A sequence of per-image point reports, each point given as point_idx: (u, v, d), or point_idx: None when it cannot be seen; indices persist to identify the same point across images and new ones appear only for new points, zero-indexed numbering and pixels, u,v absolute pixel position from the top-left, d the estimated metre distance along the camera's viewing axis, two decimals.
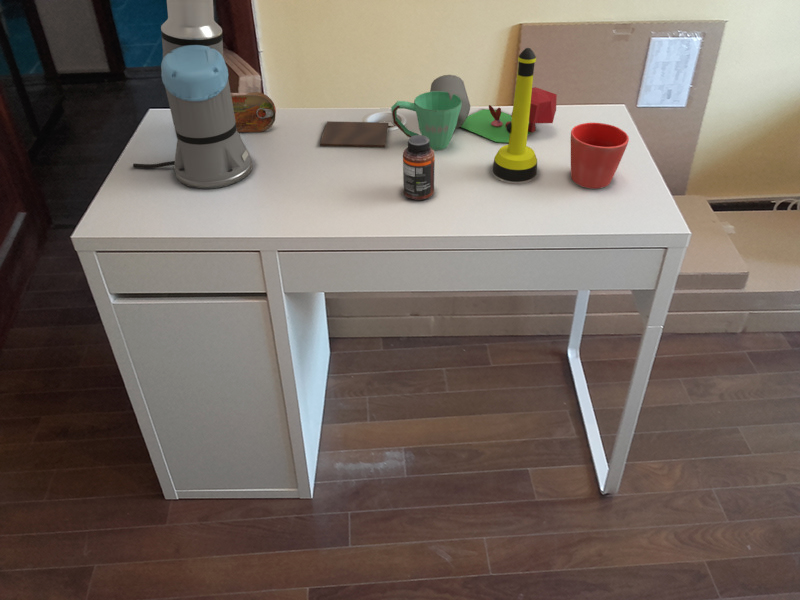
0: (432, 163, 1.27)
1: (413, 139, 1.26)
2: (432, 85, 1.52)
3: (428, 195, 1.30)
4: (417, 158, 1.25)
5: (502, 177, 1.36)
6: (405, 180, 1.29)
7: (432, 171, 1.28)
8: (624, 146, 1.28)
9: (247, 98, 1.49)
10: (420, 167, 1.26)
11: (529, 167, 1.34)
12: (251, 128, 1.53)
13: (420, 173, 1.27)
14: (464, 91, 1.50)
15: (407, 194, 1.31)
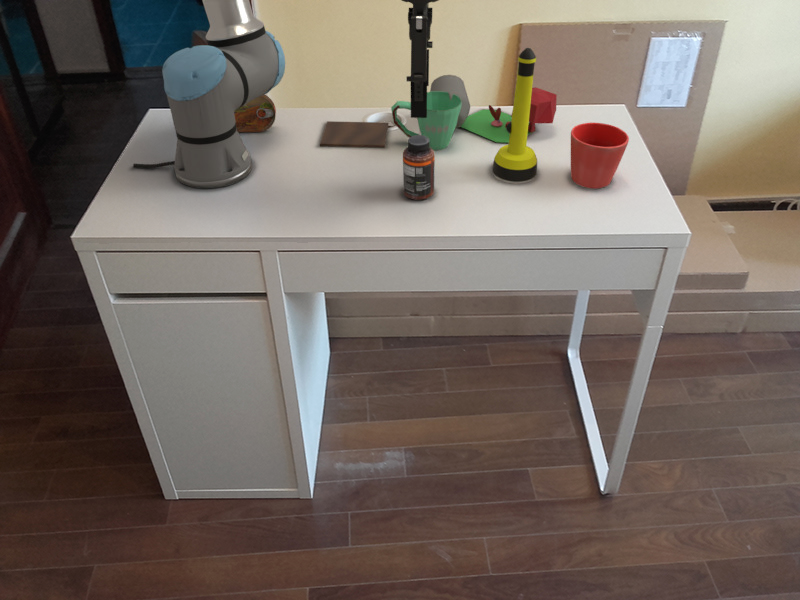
0: (432, 163, 1.27)
1: (413, 139, 1.26)
2: (432, 85, 1.52)
3: (428, 195, 1.30)
4: (417, 158, 1.25)
5: (502, 177, 1.36)
6: (405, 180, 1.29)
7: (432, 171, 1.28)
8: (624, 146, 1.28)
9: None
10: (420, 167, 1.26)
11: (529, 167, 1.34)
12: (251, 128, 1.53)
13: (420, 173, 1.27)
14: (464, 91, 1.50)
15: (407, 194, 1.31)
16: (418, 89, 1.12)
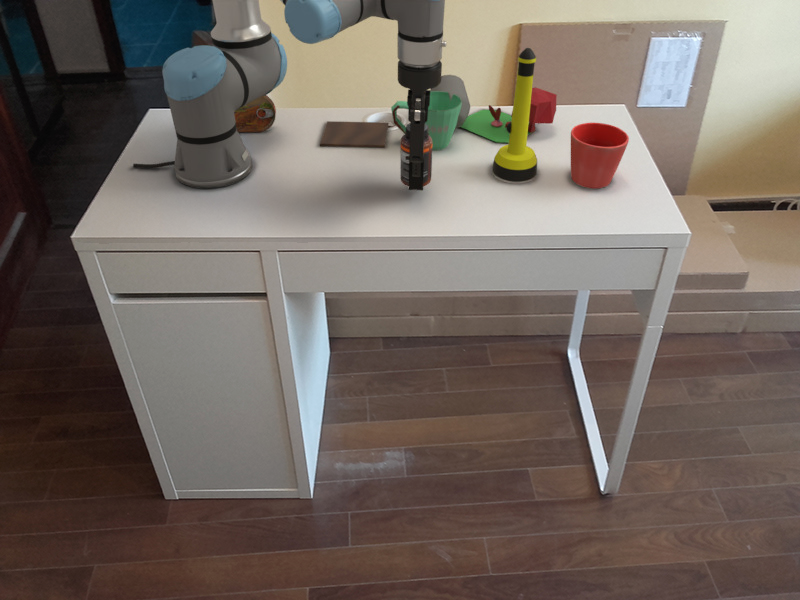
0: (430, 151, 1.26)
1: None
2: None
3: (425, 183, 1.29)
4: None
5: (502, 177, 1.36)
6: (402, 167, 1.28)
7: (430, 159, 1.27)
8: (624, 146, 1.28)
9: None
10: None
11: (529, 167, 1.34)
12: (251, 128, 1.53)
13: None
14: (464, 91, 1.50)
15: (404, 182, 1.29)
16: (416, 167, 1.24)
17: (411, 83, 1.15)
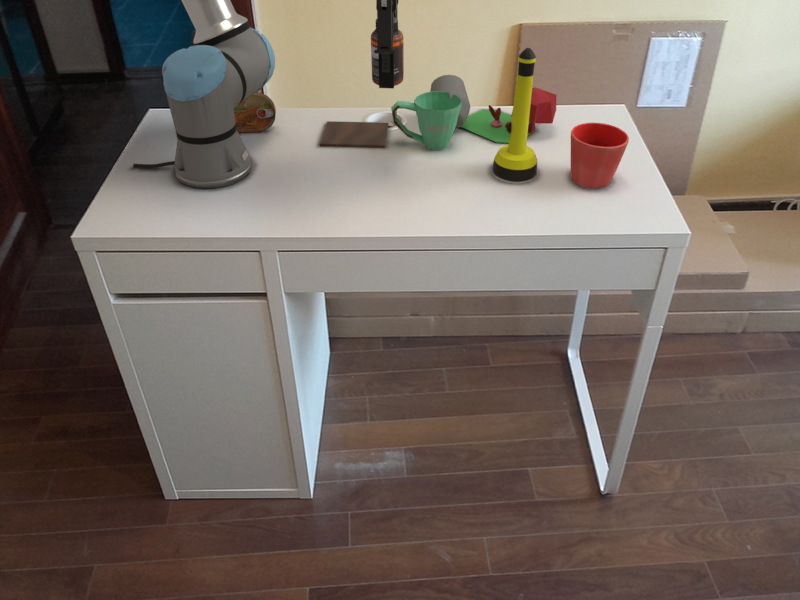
0: (400, 46, 1.23)
1: None
2: (432, 85, 1.52)
3: (397, 82, 1.26)
4: None
5: (502, 177, 1.36)
6: (373, 65, 1.25)
7: (401, 55, 1.24)
8: (624, 146, 1.28)
9: (247, 98, 1.49)
10: None
11: (529, 167, 1.34)
12: (251, 128, 1.53)
13: None
14: (464, 91, 1.50)
15: (375, 81, 1.27)
16: (385, 61, 1.21)
17: None
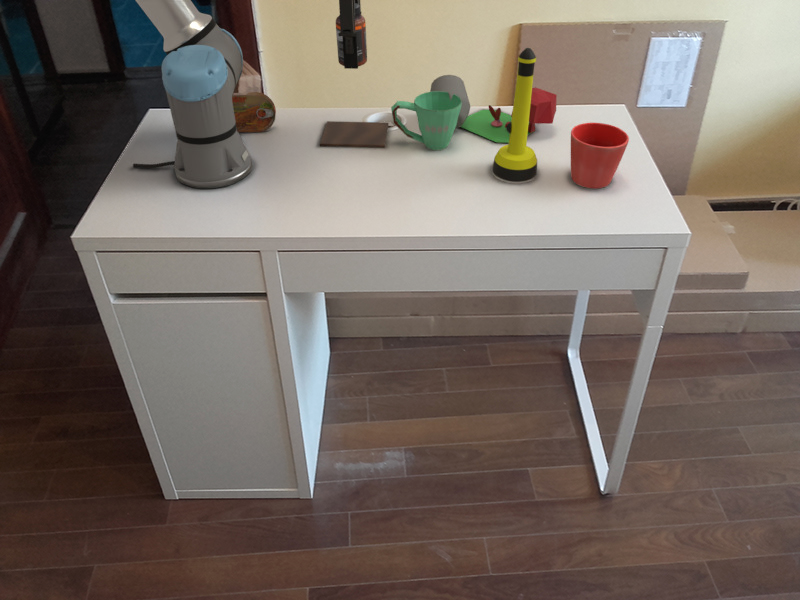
0: (363, 29, 1.35)
1: None
2: (432, 85, 1.52)
3: (360, 62, 1.38)
4: None
5: (502, 177, 1.36)
6: (338, 47, 1.37)
7: (363, 38, 1.36)
8: (624, 146, 1.28)
9: (247, 98, 1.49)
10: None
11: (529, 167, 1.34)
12: (251, 128, 1.53)
13: None
14: (464, 91, 1.50)
15: (341, 62, 1.39)
16: (348, 43, 1.33)
17: None
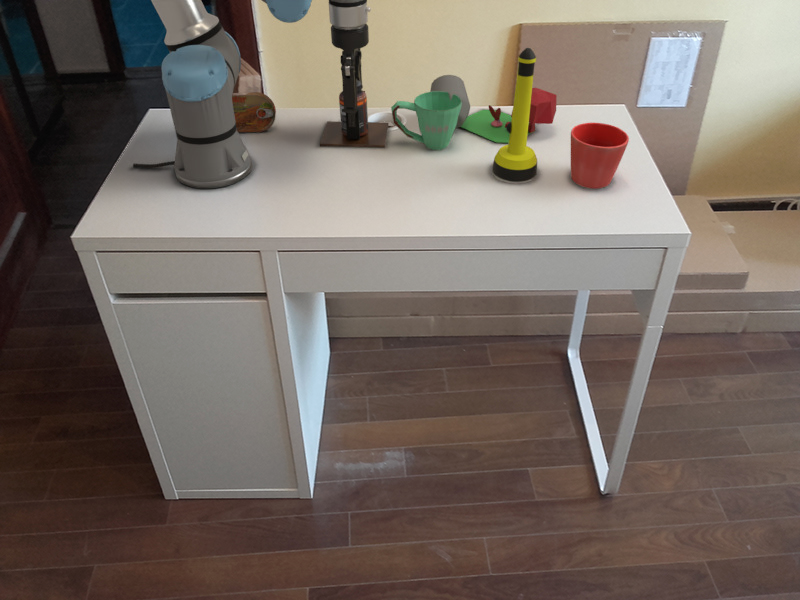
0: (364, 104, 1.46)
1: None
2: (432, 85, 1.52)
3: (362, 133, 1.49)
4: None
5: (502, 177, 1.36)
6: (341, 120, 1.48)
7: (365, 111, 1.47)
8: (624, 146, 1.28)
9: (247, 98, 1.49)
10: None
11: (529, 167, 1.34)
12: (251, 128, 1.53)
13: None
14: (464, 91, 1.50)
15: (344, 133, 1.50)
16: (351, 118, 1.44)
17: (341, 43, 1.36)
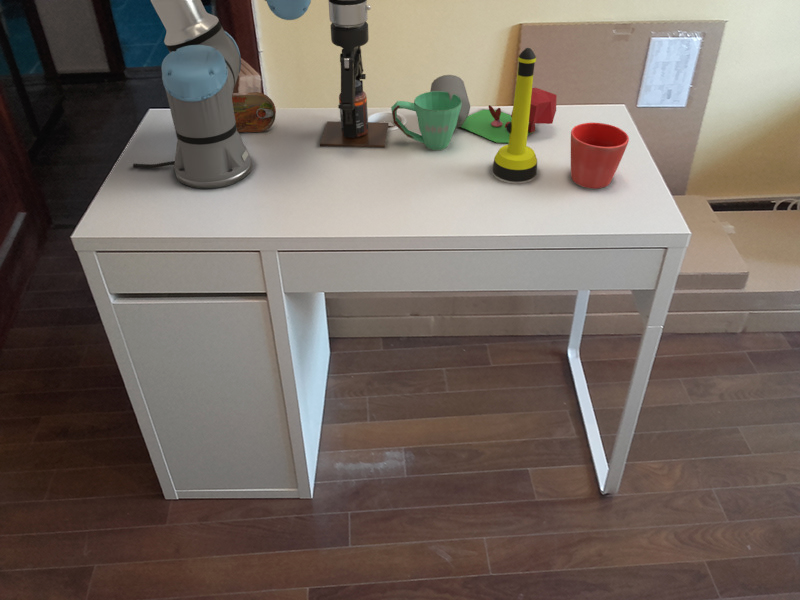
0: (364, 104, 1.46)
1: None
2: (432, 85, 1.52)
3: (362, 133, 1.49)
4: None
5: (502, 177, 1.36)
6: (341, 120, 1.48)
7: (365, 111, 1.47)
8: (624, 146, 1.28)
9: (247, 98, 1.49)
10: None
11: (529, 167, 1.34)
12: (251, 128, 1.53)
13: None
14: (464, 91, 1.50)
15: None
16: (348, 115, 1.40)
17: (341, 41, 1.35)
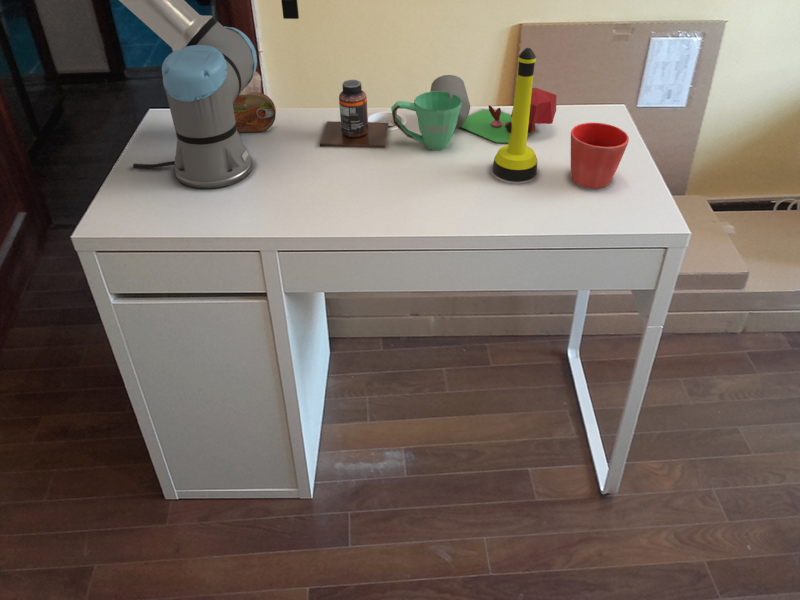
0: (364, 104, 1.46)
1: (347, 82, 1.44)
2: (432, 85, 1.52)
3: (362, 133, 1.49)
4: (350, 99, 1.44)
5: (502, 177, 1.36)
6: (341, 120, 1.48)
7: (365, 111, 1.47)
8: (624, 146, 1.28)
9: (247, 98, 1.49)
10: (353, 107, 1.45)
11: (529, 167, 1.34)
12: (251, 128, 1.53)
13: (353, 112, 1.45)
14: (464, 91, 1.50)
15: (344, 133, 1.50)
16: None
17: None
